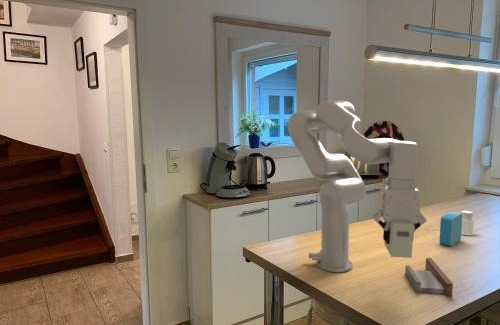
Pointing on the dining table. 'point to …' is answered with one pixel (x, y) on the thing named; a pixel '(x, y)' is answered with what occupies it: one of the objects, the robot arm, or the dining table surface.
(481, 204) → the dining table surface
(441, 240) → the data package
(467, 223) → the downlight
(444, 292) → the board
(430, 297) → the dining table surface
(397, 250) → the slotted sage box
